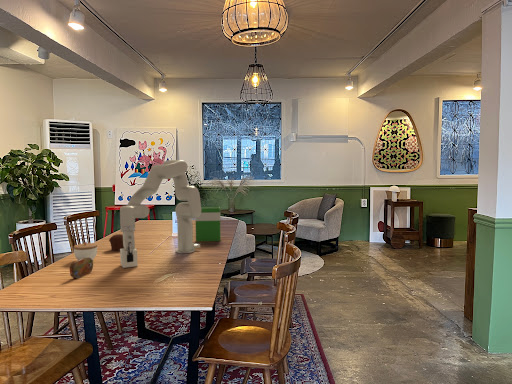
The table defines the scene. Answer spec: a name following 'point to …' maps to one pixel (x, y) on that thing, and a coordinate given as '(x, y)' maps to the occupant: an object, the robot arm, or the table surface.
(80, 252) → the lidded bowl
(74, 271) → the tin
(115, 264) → the table surface
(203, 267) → the table surface
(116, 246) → the muffin
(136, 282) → the table surface
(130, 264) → the beige cube
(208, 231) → the hardback book
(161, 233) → the table surface
